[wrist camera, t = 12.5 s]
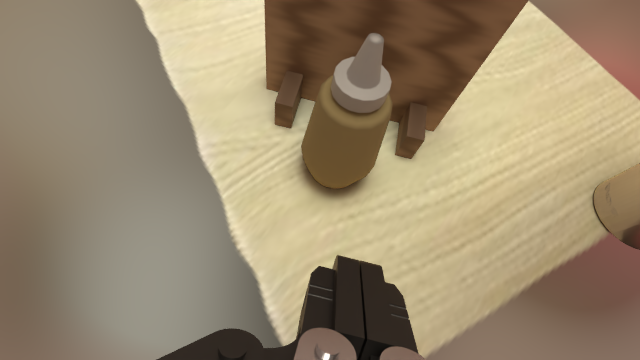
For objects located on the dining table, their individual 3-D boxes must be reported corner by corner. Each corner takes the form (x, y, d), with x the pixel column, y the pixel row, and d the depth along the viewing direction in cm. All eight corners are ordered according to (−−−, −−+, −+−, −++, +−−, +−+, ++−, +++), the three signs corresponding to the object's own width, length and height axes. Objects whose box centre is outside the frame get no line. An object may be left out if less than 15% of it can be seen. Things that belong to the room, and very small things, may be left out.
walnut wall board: (434, 119, 44) (561, -65, 25) (431, 163, 41) (575, -8, 21) (271, 77, 44) (269, -142, 24) (254, 119, 41) (238, -96, 21)
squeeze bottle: (334, 126, 42) (372, -14, 26) (381, 171, 39) (455, 49, 24) (284, 162, 38) (292, 28, 23) (332, 212, 36) (379, 104, 20)
